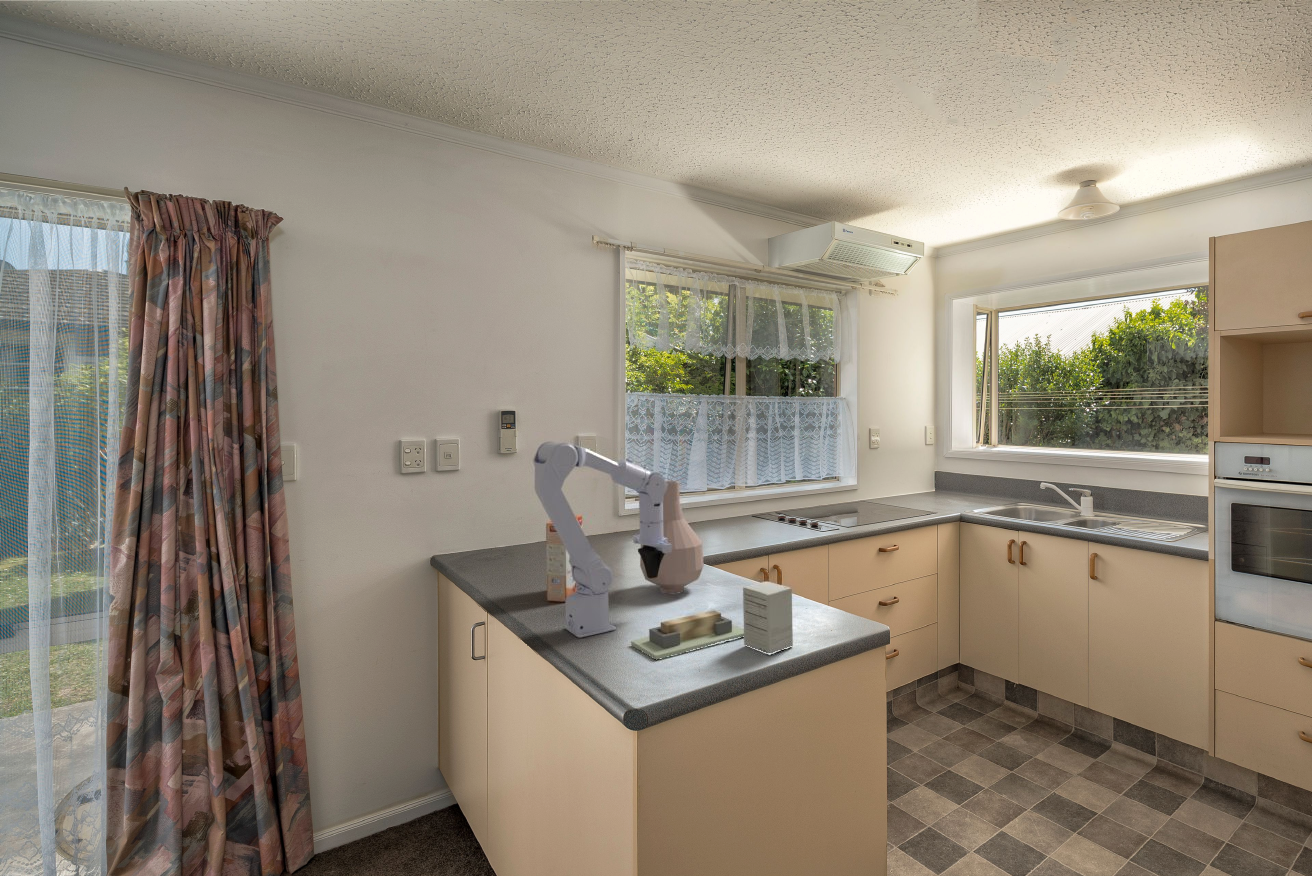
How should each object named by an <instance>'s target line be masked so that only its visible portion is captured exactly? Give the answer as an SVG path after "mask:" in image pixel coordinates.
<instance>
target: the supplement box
mask: <svg viewBox="0 0 1312 876" xmlns="http://www.w3.org/2000/svg"><path fill="white" fill-rule="evenodd" d="M742 596H743V597H742V600H743V601H742V603H743V604H742V605H743V607H742V608H743V629H744V638H743V644H744V645H747V646H750V647H752V648H755V649H758V650H761V651H763V652H766V653H773V652H775V651H778V650H782V649H784V648H787V647H790V646H793V645H794V642H793V641H794V639H793V638H794V637H793V634H794V633H793V590H792V587H789V586H786V585H781V584H778V583H774V582H772V581H762V582H758V583H755V584H751V585H747V586H743V588H742ZM793 647H794V646H793Z"/></svg>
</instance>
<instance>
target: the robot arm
mask: <svg viewBox="0 0 1312 876" xmlns="http://www.w3.org/2000/svg"><path fill="white" fill-rule="evenodd" d="M532 462H533V464H534V465H533V466H534V491H535V494H536V496H537V497H538V499H539V501H540V503H541V505H542V506H543V507H542V508H544V511H545V512H546V514H547V517H548V518H549V519H550V521H551V522H552V524H553V526H554V527H555V529H556V531H557V533H558V535H559V537H560V539H561V541H562V542H563V544H564V546H565V548H566V550H567V552H568V554H569V556H570V559H569V563H570V565H571V568H572V577H573V579H574V580H575V582H577V591H576V592H575V593H573V594H569V595H568V596H567V597H566V602H564V603H565V626H564V629H565V630H567V631H568V632H570V634H573V635H574V636H575V637H577V638H583V637H589V636H593V635H598V634H602V633H607V632H611V631H616V630H617V627H616V626H615V625H613V624H611V623H610V614H609V613H610V611H609V609H610V608H609V607H610V605H609V589H610V588H611V587H612V584H613V582H614V571H613V570H612V569H611V567H610V566H609V565H607V564H606V563H604V561H603V560H602V558H601V557H600V555H599V554H597V552H596V551H595V550H594V549H593V547H591V546H592V545H591V544H590V542H589V540H588V538H587V536H586V534H585V533H584V531H583V527H582V528H581V526H580V525H579V523H578V521H577V519H576V517H575V515H576V514H575V513H574V511H573V509H572V507H571V506H570V504H569V502H568V500H567V497H566V496H565V494H564V492H563V490H562V488H563V486H564V482H565V480H566V479H567V478H568V477H569V475H570V474H571V473H572V472H573V470H574V469H575V468H576V467H578V468H579V467H580V468H581V467H583V466H585V467H587V468H591V469H594V470H596V471H599V472H602V473H605V474H607V475H609V476H610V478H611V480H612V481H613V483H615V484H618V485H621V486H622V487H625V488H628V489H630V490H632V491H633V490H634V491H635V492H636V493H637V494H638V506H639V507H638V509H639V510H638V513H639V514H638V515H639V517H638V518H639V520H638V521H639V534H635V535H634V534H633V537H632V539H633V540H632V542H633V544H639V545H640V546H641V545H643V547H642V548H641V547H639V548H637V552H638V554H639V555H640V556H641V558H642V560H643V563H644V566H645V570H646V574H647V577H648V578H650V579H651V578H657V576H658V572H659V568H660V564H661V561H662V558H663V556H664V555H665V553H669V552H672V545H671V544H670V543H668V542H667V538H665V537H663V500H664V493H665V492H666V490H667V486H668V483H666V481H667V480H666V478H665V477H664V475H663V474H662V473H660V472H655V471H650V470H649V469H650V468H649V467H648V466H640V465H637V464H635V463H633V462H634V460H633V459H630V458H626V459H619V460H617V461H614V460H612V459H610V458H608V457H606V456H603V455H602V454H599V453H598V452H595V451H592V450H590V449H589V448H586V447H582V446H579V445H574V444H571V443H569V442H555V441H545V442H542V443H541V444H540V445H539V447H538V448H537V449H536V452H535V454H534V457H533V458H532ZM640 556H639V557H640Z"/></svg>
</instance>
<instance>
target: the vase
mask: <svg viewBox="0 0 1312 876" xmlns="http://www.w3.org/2000/svg"><path fill="white" fill-rule="evenodd" d="M665 481H666V483H668V486H667V490H666V492H665V493H664V500H663V537H665V538H667V542H668V543H670V544H671V545H672V552H669V553H665V555H664V556H663V558H662V561H661V564H660V568H659V572H658V576H657V578H651V579H650V578H648V577H647V574H646V570H645V566H644V563H643V560H642V558H641V556H639V557H640V558H639V559H640V561H639V562H640V565H639V567H640V569H641V572H642V574H643V577H644V580H646V581H648V582H649V583H651V584H654V586H655V585H656V586H658V587H659V588H660V592H661V593H663V592H664V593H665V594H671V593H674V594H679V592H680V593H683V592H684V591H685V587H687V586H688V585H690V584H691V583H694V582H696V581H698V580H699V579H700V576H701V573H702V571H703V568H704V566H705V565H704V549H703V548H704V547H703V542H702V540H701V539H700V538H699V536H698V535H697V534H696V532H695V531H694V530H693V528H692V527H691V526H690V525H689V523H688V522H687V520H686V519H685V517H684V513H683V509H682V505H681V500H680V499H681V498H680V481H677V480H675V481H674V480H669V481H667V480H665ZM642 547H643V545H641V544H640V548H642ZM682 591H683V592H682Z"/></svg>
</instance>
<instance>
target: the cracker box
mask: <svg viewBox="0 0 1312 876" xmlns="http://www.w3.org/2000/svg"><path fill="white" fill-rule="evenodd" d="M574 515H575V517H576V519H577V521H578V523H579V525H580V526H581V528H582V529H583V516H582V515H577V514H574ZM545 537H546V538H545V540H546V541H545V545H546V547H545V548H546V551H545V552H546V553H545V554H546V556H545V557H546V601H547V602H554V603H555V602H559V603H565V602H566V597H567V596H568V595H569V594H573V593H575V592H576V591H577V582H575V580H574V579H573V577H572V568H571V565H570V563H569V559H570V556H569V554H568V552H567V550H566V548H565V546H564V544H563V542H562V541H561V539H560V537H559V535H558V533H557V531H556V529H555V527H554V526H553V524H552V522H551V520H550V521H548V522H546V524H545Z"/></svg>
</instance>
